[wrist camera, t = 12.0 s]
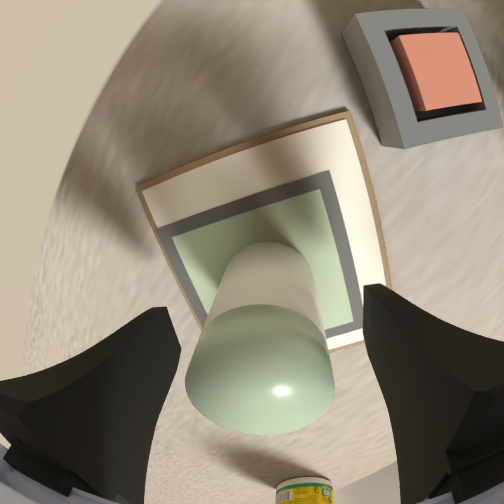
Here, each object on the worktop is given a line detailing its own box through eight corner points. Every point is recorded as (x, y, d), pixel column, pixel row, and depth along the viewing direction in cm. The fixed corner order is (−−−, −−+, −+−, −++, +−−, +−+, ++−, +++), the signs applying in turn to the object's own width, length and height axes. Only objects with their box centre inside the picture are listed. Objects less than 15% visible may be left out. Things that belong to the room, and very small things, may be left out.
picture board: (349, 110, 11) (351, 110, 10) (395, 330, 14) (397, 333, 14) (136, 186, 13) (133, 187, 12) (226, 372, 16) (225, 377, 16)
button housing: (437, 24, 8) (462, 9, 6) (472, 125, 10) (503, 127, 8) (341, 34, 9) (354, 13, 7) (382, 146, 11) (404, 149, 9)
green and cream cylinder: (301, 231, 12) (321, 321, 6) (321, 310, 14) (341, 423, 8) (211, 255, 13) (159, 351, 7) (239, 328, 14) (217, 439, 8)
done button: (443, 39, 8) (458, 32, 7) (465, 103, 9) (482, 101, 7) (387, 44, 8) (398, 35, 7) (412, 112, 9) (426, 110, 8)
